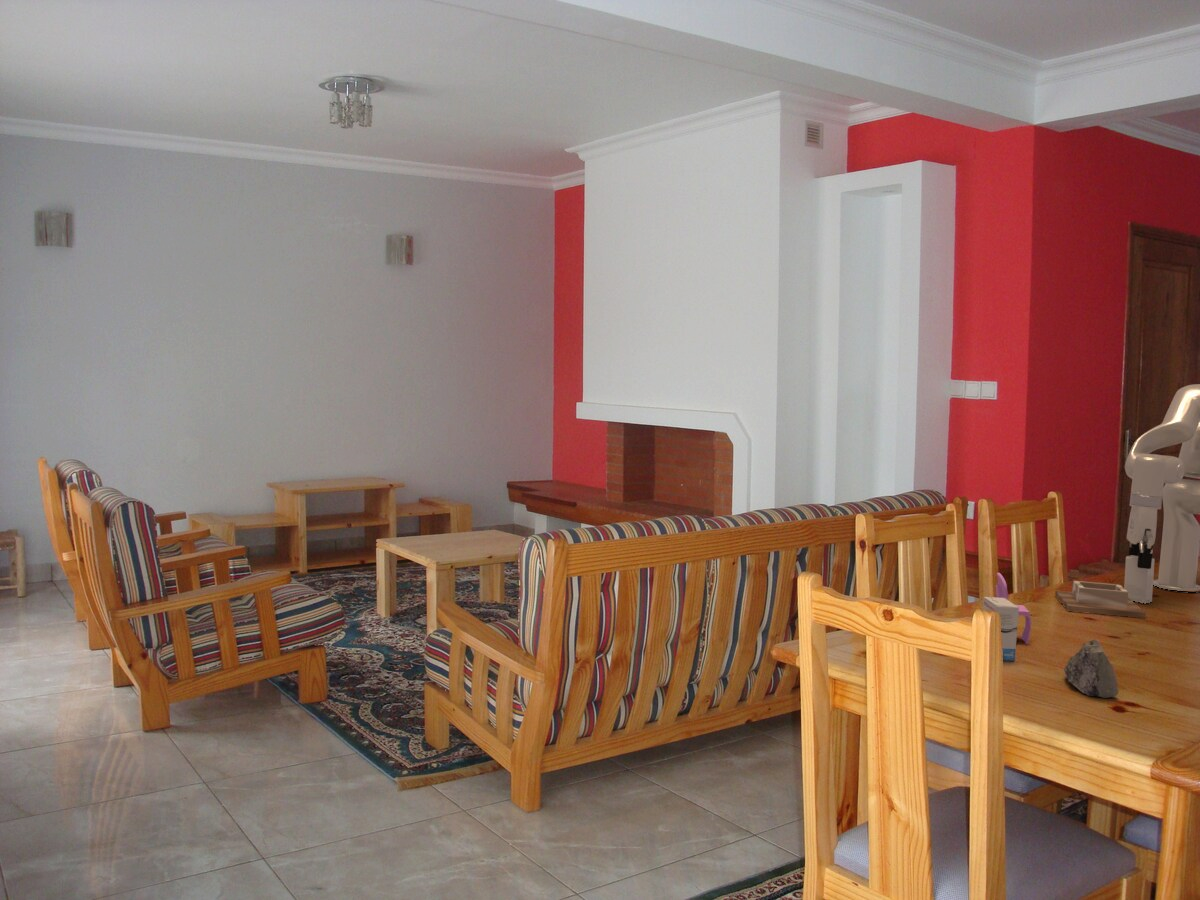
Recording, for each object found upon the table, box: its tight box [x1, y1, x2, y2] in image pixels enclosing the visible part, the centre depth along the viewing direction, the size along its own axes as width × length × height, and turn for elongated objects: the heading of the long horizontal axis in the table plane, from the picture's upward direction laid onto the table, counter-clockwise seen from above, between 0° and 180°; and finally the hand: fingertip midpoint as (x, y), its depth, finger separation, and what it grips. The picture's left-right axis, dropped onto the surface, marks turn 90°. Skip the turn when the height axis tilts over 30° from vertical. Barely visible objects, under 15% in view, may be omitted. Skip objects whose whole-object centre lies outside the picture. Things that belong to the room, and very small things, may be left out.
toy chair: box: [995, 572, 1032, 645], centre depth 234 cm, size 8×9×15 cm
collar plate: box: [1054, 580, 1147, 619], centre depth 270 cm, size 18×18×6 cm
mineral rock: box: [1063, 638, 1120, 699], centre depth 201 cm, size 13×11×10 cm
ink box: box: [981, 596, 1019, 662], centre depth 221 cm, size 8×5×12 cm, turn 179°
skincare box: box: [1123, 555, 1155, 605], centre depth 278 cm, size 6×4×12 cm
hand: (1139, 565), depth 278 cm, fingers open, 9 cm apart
